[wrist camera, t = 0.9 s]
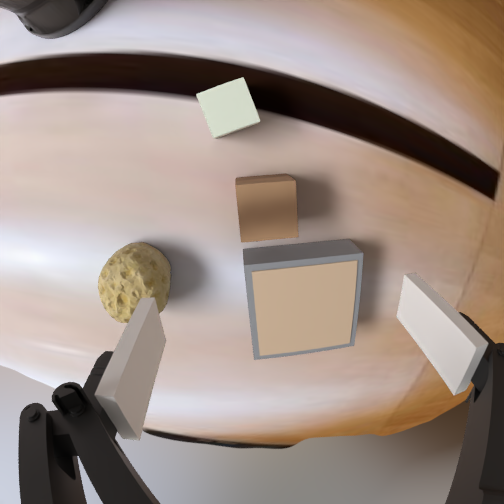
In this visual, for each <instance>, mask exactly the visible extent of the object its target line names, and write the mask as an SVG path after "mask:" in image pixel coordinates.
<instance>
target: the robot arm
mask: <svg viewBox="0 0 504 504" xmlns="http://www.w3.org/2000/svg"><path fill="white" fill-rule="evenodd" d="M106 2H107V0H0V8H3V9H6V10H9V11H11V12H14V13H15V14H16V15H17V16H18V18H19V19H20V21H21V22H22V23H23V24H24V25H25V27H26V29H27V30H28V31H29V32H30V33H32V34H34V35H36V36H39V37H41V38H45V39H53V38H58V37H61V36H64V35H67V34H69V33H71V32H73V31H74V30H76V29H78V28H79V27H81V26H82V25H84V24H85V23H86V22H87V21H89V20H90V19H91V18H92V17H93V16H94V15H95V14H96V13H97V12H98V11H99V10H100V9H101V8H102V7H103V6H104V4H105V3H106ZM397 318H398V319H399V321H400V322H401V323H402V324H403V326H404V327H405V328H406V330H407V331H408V332H409V334H410V335H411V336H412V337H413V339H414V340H415V341H416V343H417V344H418V345H419V347H420V348H421V350H422V351H423V352H424V354H425V355H426V356H427V358H428V359H429V360H430V362H431V363H432V365H433V366H434V367H435V369H436V370H437V372H438V373H439V374H440V376H441V377H442V379H443V380H444V382H445V383H446V385H447V386H448V387H449V389H450V390H451V392H452V393H453V395H456V394H458V393H461V392H463V391H465V390H466V389H467V387H468V385H469V383H470V381H472V383H473V384H474V387H473V388H472V390H471V392H470V394H469V396H468V397H467V399H466V403H467V402H468V400H469V399H470V398H471V400H470V407H469V413H468V420H467V425H466V430H465V435H464V440H463V445H462V449H461V453H460V457H459V461H458V465H457V469H456V473H455V476H454V479H453V482H452V486H451V489H450V492H449V495H448V497H447V500H446V503H445V504H504V343H497V344H495V343H494V342H493V341H492V340H491V339H490V338H489V337H488V336H487V335H486V334H485V333H484V332H483V331H482V330H481V329H479V327H478V326H477V325H476V324H474V322H473V321H472V320H471V319H470V318H469V317H468V316H466V315H465V314H463V313H461V312H459V313H458V312H457V311H456V310H455V309H454V308H453V307H452V306H451V305H450V304H449V303H448V302H447V301H446V300H445V299H444V298H443V297H441V296H440V295H439V294H438V293H437V292H436V291H435V290H434V289H433V288H432V287H431V286H430V285H428V284H427V283H426V282H425V281H424V280H423V279H422V278H421V277H420V276H418V275H417V274H416V273H411V274H404V280H403V286H402V291H401V297H400V302H399V307H398V312H397ZM165 343H166V338H165V334H164V331H163V327H162V323H161V320H160V316H159V312H158V308H157V304H156V300H155V297H152V298H141V299H140V301H139V303H138V305H137V306H136V308H135V310H134V312H133V314H132V316H131V318H130V320H129V322H128V324H127V326H126V328H125V330H124V332H123V334H122V336H121V338H120V340H119V342H118V344H117V346H116V348H115V351H114V352H112V351H105V352H104V353H103V354H102V355H101V356H100V357H99V358H98V359H97V361H96V363H95V365H94V368H93V369H92V371H91V373H90V375H89V377H88V379H87V381H86V383H85V385H84V387H83V389H82V387H81V386H80V385H79V384H77V383H75V382H68V383H64V384H62V385H60V386H59V387H57V388H56V389H55V391H54V392H53V395H52V402H53V403H54V405H55V406H56V408H57V409H58V410H55V411H47V410H46V409H45V408H44V407H43V405H42V404H39V403H32V404H29V405H28V406H26V407H25V408H24V409H23V411H22V412H21V415H20V424H19V485H20V497H21V504H87V502H86V498H85V494H84V490H83V485H82V480H81V475H80V470H79V464H78V459H77V456H79V458H80V460H81V462H82V464H83V466H84V469H85V471H86V473H87V475H88V477H89V479H90V481H91V482H92V484H93V486H94V488H95V490H96V492H97V493H98V495H99V497H100V499H101V501H102V502H103V504H160V503H159V501H158V500H157V499H156V498H155V496H154V495H153V494H152V493H151V491H150V490H149V488H148V487H147V486H146V484H145V483H144V482H143V480H142V479H141V477H140V476H139V475H138V473H137V472H136V470H135V469H134V467H133V466H132V464H131V463H130V461H129V460H128V458H127V457H126V455H125V454H124V452H123V451H122V449H121V447H120V446H119V444H118V442H117V441H116V440H115V436H116V433H117V431H118V433H119V434H120V435H121V437H122V438H123V439H131V440H140V436H141V433H142V429H143V425H144V420H145V416H146V412H147V409H148V405H149V401H150V397H151V393H152V389H153V386H154V382H155V378H156V375H157V371H158V368H159V364H160V360H161V357H162V353H163V350H164V347H165Z"/></svg>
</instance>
